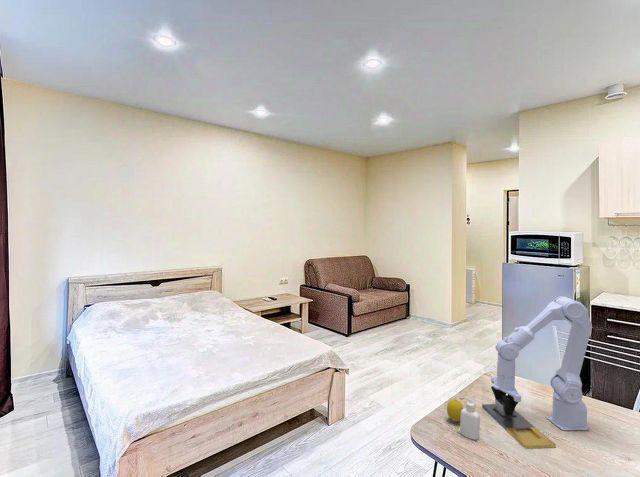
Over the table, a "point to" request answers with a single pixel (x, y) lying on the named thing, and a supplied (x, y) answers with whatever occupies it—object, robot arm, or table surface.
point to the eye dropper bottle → (470, 421)
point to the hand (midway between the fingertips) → (504, 411)
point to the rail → (518, 424)
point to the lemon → (454, 409)
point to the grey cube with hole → (501, 408)
